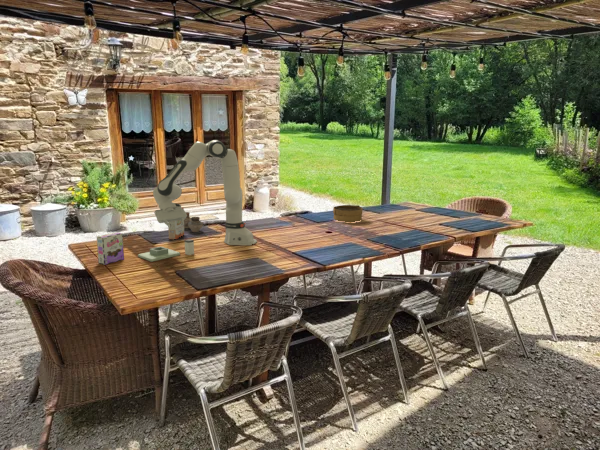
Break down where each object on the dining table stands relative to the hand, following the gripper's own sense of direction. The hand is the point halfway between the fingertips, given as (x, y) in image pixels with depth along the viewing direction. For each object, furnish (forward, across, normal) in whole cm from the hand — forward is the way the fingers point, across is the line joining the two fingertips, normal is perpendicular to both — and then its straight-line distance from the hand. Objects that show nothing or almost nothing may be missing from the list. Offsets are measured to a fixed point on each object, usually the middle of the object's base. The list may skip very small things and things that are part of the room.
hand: (176, 225), depth 299 cm
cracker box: (-9, +19, +32) cm, 38 cm away
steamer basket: (+27, +154, -7) cm, 156 cm away
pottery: (-18, +41, +41) cm, 60 cm away
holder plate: (+14, -15, +10) cm, 22 cm away
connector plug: (+20, 0, +2) cm, 21 cm away
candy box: (+7, -41, +17) cm, 45 cm away
